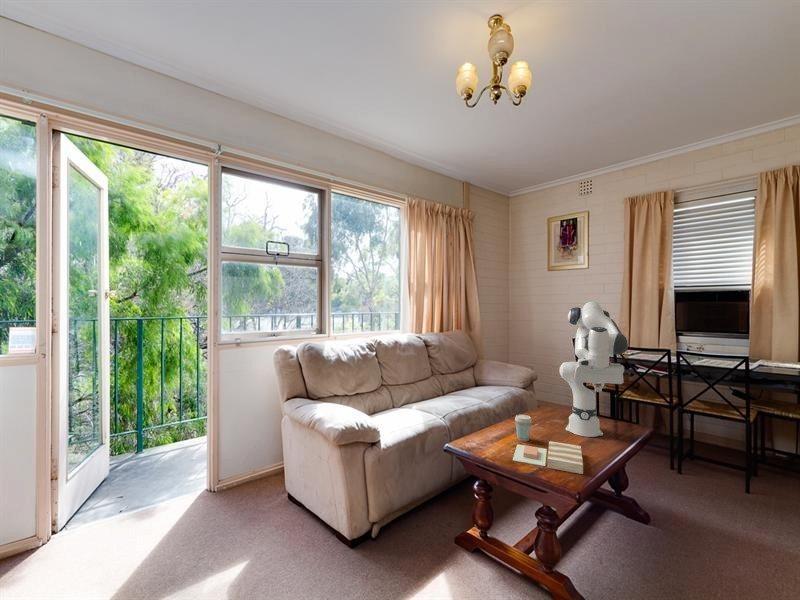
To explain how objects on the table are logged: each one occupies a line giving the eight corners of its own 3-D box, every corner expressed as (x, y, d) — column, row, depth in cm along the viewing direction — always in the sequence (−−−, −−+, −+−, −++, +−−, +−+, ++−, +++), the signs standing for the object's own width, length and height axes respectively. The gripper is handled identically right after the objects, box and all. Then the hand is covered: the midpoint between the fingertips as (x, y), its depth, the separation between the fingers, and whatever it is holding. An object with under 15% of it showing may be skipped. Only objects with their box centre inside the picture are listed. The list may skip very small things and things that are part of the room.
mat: (517, 444, 188) (517, 444, 188) (546, 449, 182) (546, 449, 182) (512, 460, 170) (512, 459, 170) (545, 466, 164) (545, 465, 164)
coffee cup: (530, 443, 190) (530, 420, 190) (513, 440, 194) (513, 417, 194) (533, 438, 197) (533, 415, 197) (516, 435, 201) (516, 413, 201)
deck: (549, 449, 183) (549, 441, 183) (580, 454, 177) (580, 445, 177) (547, 467, 163) (547, 458, 163) (582, 474, 157) (583, 464, 157)
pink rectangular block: (538, 447, 179) (538, 452, 179) (525, 445, 181) (525, 449, 181) (537, 455, 170) (537, 459, 170) (523, 452, 173) (523, 457, 173)
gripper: (623, 362, 172) (622, 392, 172) (574, 359, 180) (574, 387, 180) (625, 365, 166) (624, 395, 166) (574, 361, 174) (574, 390, 174)
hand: (598, 391), depth 173 cm, fingers closed
